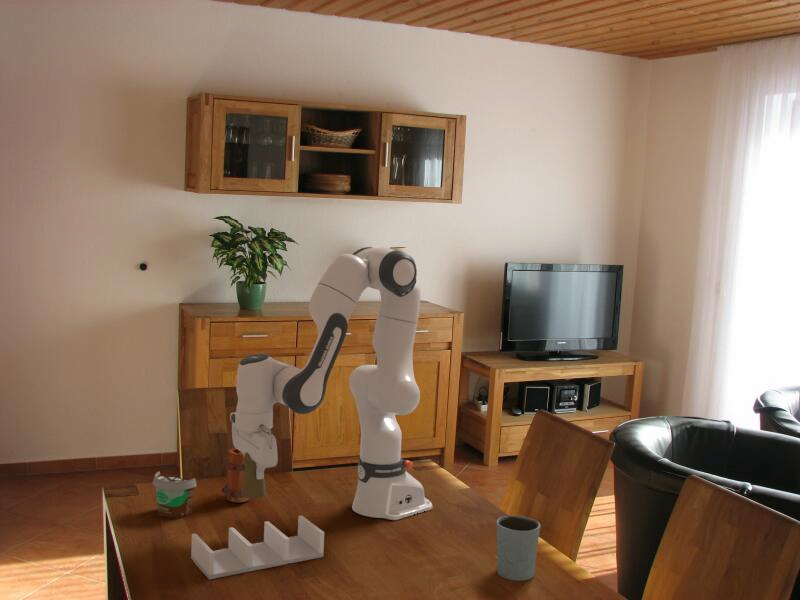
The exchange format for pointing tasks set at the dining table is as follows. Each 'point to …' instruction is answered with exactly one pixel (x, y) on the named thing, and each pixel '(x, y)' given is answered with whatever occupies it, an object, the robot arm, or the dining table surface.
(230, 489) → the mug
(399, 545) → the dining table surface
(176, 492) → the food container
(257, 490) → the cork
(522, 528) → the grey cup
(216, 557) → the slot rack
